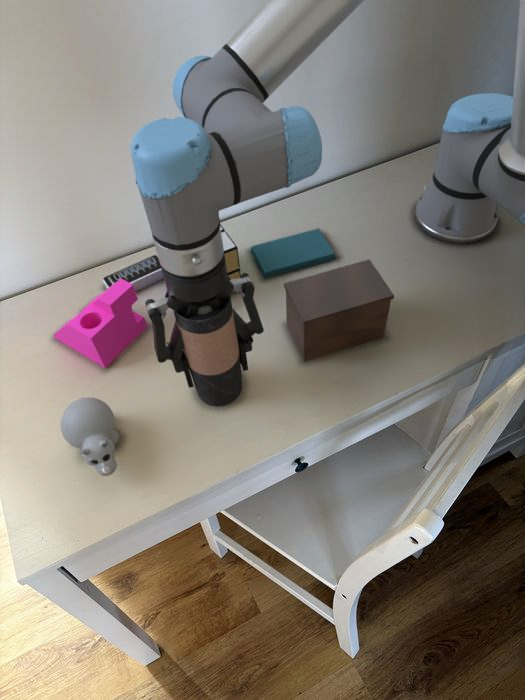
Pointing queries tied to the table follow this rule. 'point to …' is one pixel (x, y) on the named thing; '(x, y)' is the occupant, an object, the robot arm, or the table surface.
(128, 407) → the table surface
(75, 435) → the round bodied animal figurine
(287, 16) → the robot arm
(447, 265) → the table surface
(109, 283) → the multiport hub
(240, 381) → the travel mug
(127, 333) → the bracket
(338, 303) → the bread box
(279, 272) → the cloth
